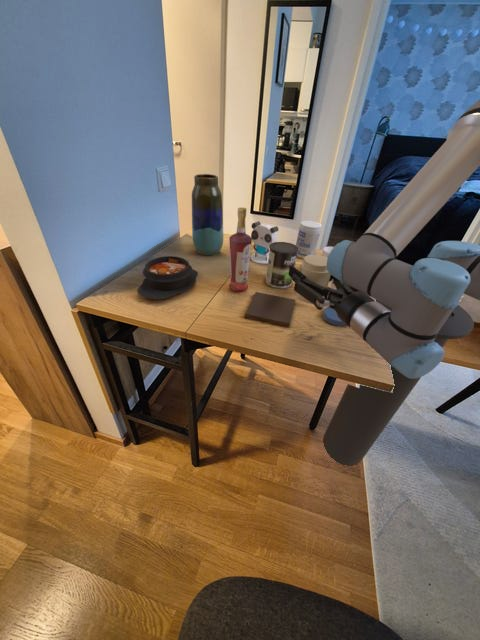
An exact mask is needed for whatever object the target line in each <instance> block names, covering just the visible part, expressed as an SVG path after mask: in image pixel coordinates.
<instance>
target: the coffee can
mask: <svg viewBox="0 0 480 640" xmlns="http://www.w3.org/2000/svg"><path fill="white" fill-rule="evenodd" d="M269 248H270V250H269V258H268V264H267V267H266V274H265V275H266V276H265V283H266V284H267V285H268V286H269V287H272V288H277V289H287V288H289V287H290V286H292V284H293V280H292V278H291V277H290V276H289V275H288V274H289V268H290V266H294V267H295V268H296V264H297V263H296V262H297V258H298V256H297V252H298V247H297V246H296V244H294V243H292V242H286V241H277V242H274V243H272V244H270V246H269Z"/></svg>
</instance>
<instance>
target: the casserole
mask: <svg viewBox="0 0 480 640" xmlns="http://www.w3.org/2000/svg"><path fill="white" fill-rule="evenodd" d="M198 272H199V271H197V270H196V269H194V268H193V267H192V265H191V264H190V263H189V261H188V260H187V259H186V258H184V257H180V256H174V255H171V256H170V255H167V256H165V255H164V256H159V257H156V258H153V259H150V260H149V261H146V263H145V265H144V268H143V269H142V275H143V277H144V279H143V281H142V283H141V285H140V286H139V287H138V288H137V290H136V292H137V293H138V295H139V296H141V297H142V298H143V297H144V298H146V299H150V300H165V299H168V298H170V297H173V296H174V295H179V294H182V293H184V292H186V291H189V290H190V289H192V288H193V287H194V286H195V284H196V281H197V277H198V275H199V273H198Z"/></svg>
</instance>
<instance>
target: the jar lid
mask: <svg viewBox="0 0 480 640" xmlns="http://www.w3.org/2000/svg"><path fill="white" fill-rule="evenodd" d="M322 318H323V319H324V321H326V322H327V323H328V324H330V325H333V326H336V327H337V326H338V327H344V326H347V325H346V324H345V323H344V322H343V321H342V320H340V319H339V317H338V315H337V313H336V311H335V310H334V309H332V308H330V307H329V306H326V307H324V309H323V313H322Z"/></svg>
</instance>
